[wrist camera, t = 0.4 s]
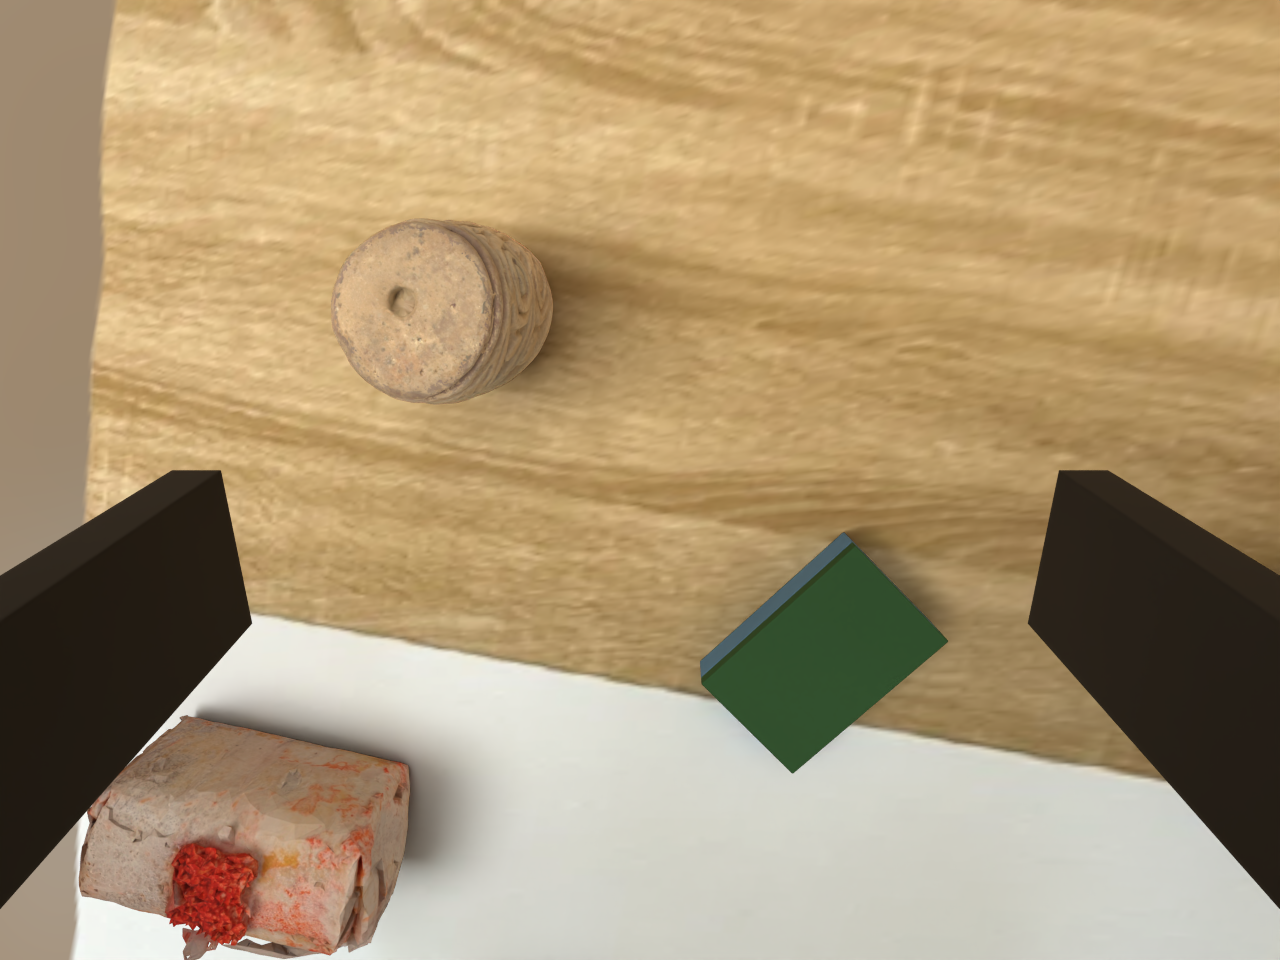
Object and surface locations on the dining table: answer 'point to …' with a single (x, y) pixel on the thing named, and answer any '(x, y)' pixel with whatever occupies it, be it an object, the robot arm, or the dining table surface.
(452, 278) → the carving
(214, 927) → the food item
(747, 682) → the sponge
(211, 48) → the dining table surface
